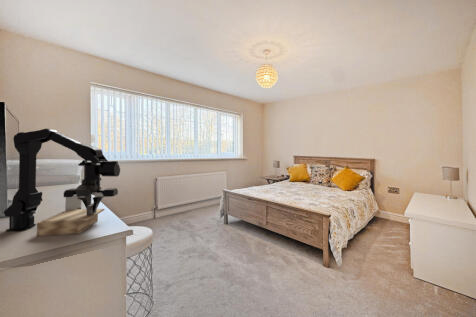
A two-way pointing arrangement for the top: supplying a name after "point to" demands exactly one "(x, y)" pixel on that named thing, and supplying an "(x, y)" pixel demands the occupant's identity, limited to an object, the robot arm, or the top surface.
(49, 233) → the brown piece
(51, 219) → the lid
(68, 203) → the skincare box
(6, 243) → the top surface
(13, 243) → the top surface
